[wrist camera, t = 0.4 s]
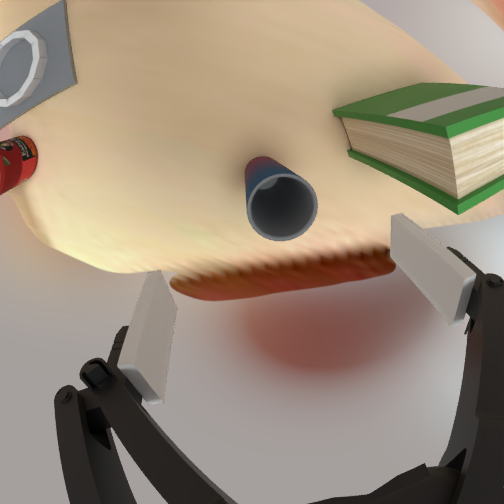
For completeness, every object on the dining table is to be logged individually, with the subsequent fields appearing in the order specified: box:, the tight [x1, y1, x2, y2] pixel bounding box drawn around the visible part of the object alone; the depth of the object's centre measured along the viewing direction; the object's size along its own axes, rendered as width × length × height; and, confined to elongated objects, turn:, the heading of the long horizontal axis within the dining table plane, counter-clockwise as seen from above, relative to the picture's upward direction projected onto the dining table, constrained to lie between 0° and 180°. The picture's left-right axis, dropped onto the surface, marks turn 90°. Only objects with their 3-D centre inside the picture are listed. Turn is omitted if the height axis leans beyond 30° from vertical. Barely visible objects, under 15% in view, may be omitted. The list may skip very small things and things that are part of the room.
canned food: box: [0, 136, 37, 195], centre depth 29 cm, size 8×8×11 cm
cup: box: [245, 157, 318, 241], centre depth 34 cm, size 7×7×15 cm
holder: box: [0, 0, 77, 130], centre depth 25 cm, size 16×20×4 cm
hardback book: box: [332, 83, 504, 215], centre depth 27 cm, size 18×7×24 cm, turn 115°
